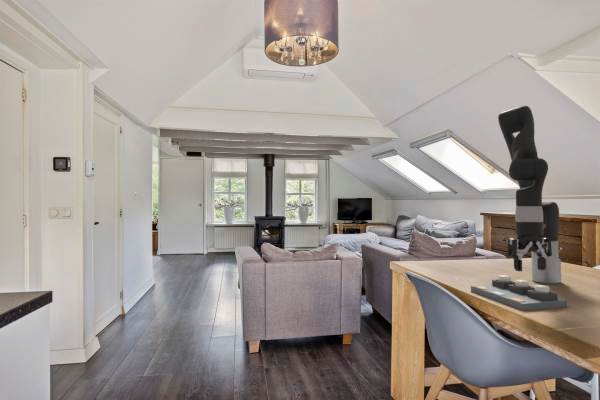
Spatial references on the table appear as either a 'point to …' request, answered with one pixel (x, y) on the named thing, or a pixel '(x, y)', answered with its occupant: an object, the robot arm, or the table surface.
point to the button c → (542, 289)
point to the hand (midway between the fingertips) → (530, 270)
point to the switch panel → (519, 296)
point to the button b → (522, 283)
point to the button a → (504, 278)
